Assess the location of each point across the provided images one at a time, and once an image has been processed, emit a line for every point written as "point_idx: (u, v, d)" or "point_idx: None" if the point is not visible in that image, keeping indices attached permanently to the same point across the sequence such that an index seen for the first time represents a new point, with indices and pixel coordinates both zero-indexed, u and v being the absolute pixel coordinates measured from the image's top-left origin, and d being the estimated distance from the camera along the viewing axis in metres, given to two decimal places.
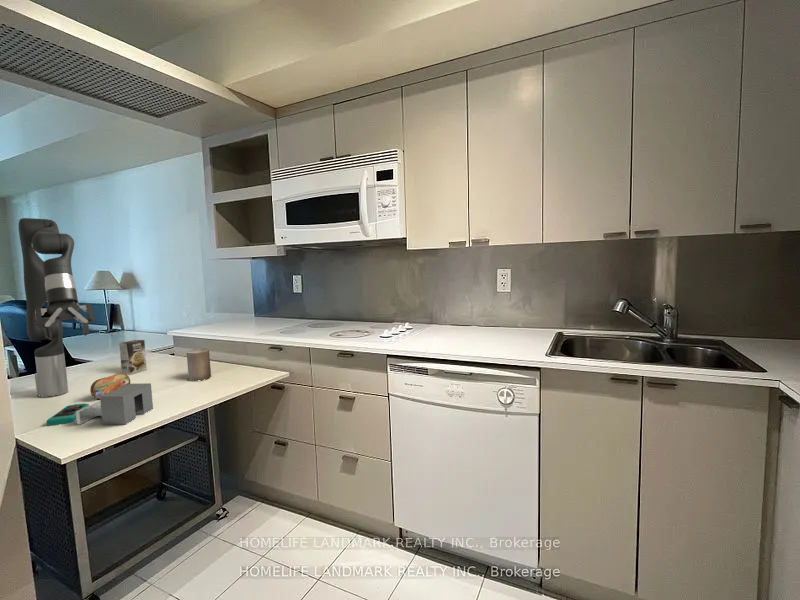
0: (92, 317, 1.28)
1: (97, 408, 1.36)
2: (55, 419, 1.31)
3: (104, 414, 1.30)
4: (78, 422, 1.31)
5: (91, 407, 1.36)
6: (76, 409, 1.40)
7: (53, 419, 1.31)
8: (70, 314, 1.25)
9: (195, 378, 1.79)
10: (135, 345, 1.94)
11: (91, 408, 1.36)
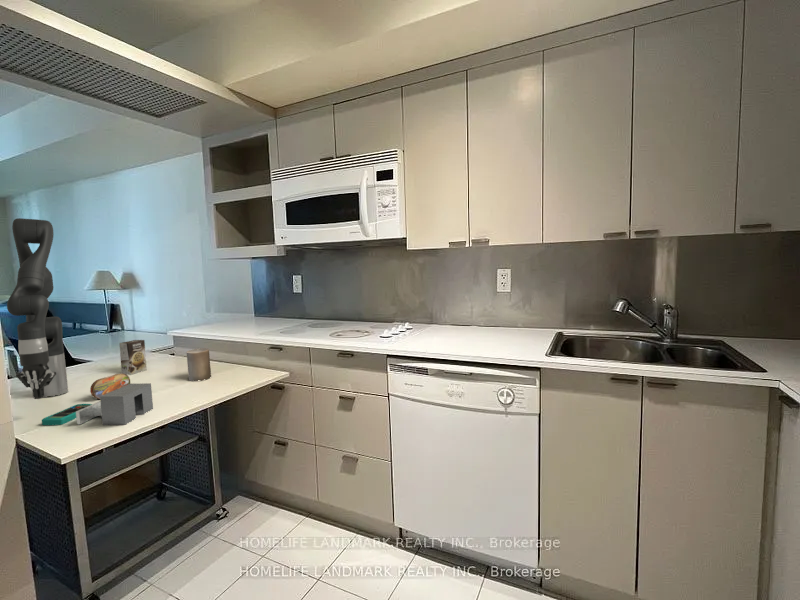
0: (41, 384, 1.36)
1: (97, 408, 1.36)
2: (48, 419, 1.31)
3: (104, 414, 1.30)
4: (78, 422, 1.31)
5: (91, 407, 1.36)
6: (77, 410, 1.40)
7: (46, 419, 1.31)
8: None
9: (195, 378, 1.79)
10: (136, 345, 1.94)
11: (91, 408, 1.36)
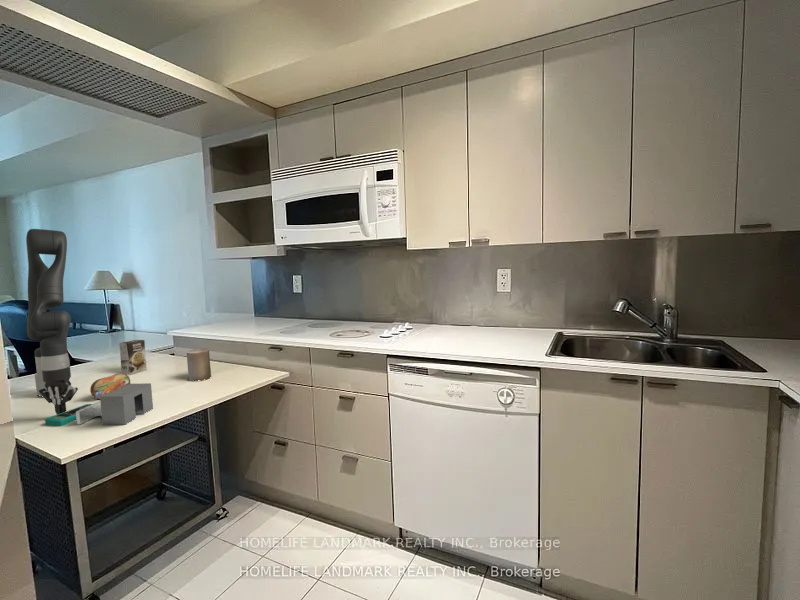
0: (63, 400, 1.36)
1: (97, 408, 1.36)
2: (49, 419, 1.31)
3: (104, 414, 1.30)
4: (78, 422, 1.31)
5: (91, 407, 1.36)
6: None
7: (48, 419, 1.32)
8: None
9: (195, 378, 1.79)
10: (136, 345, 1.94)
11: (91, 408, 1.36)
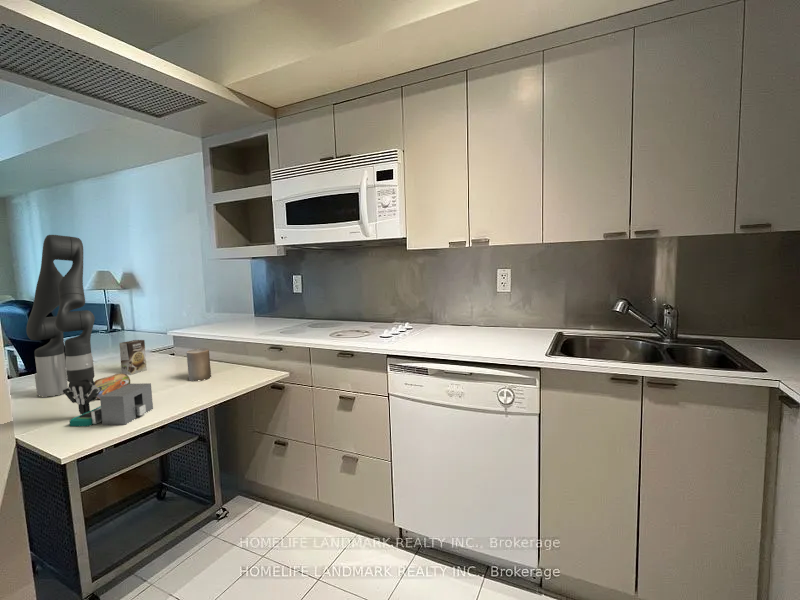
0: (87, 400, 1.36)
1: None
2: (75, 420, 1.30)
3: (104, 414, 1.30)
4: (93, 422, 1.31)
5: None
6: None
7: (74, 420, 1.30)
8: None
9: (195, 378, 1.79)
10: (136, 345, 1.94)
11: None
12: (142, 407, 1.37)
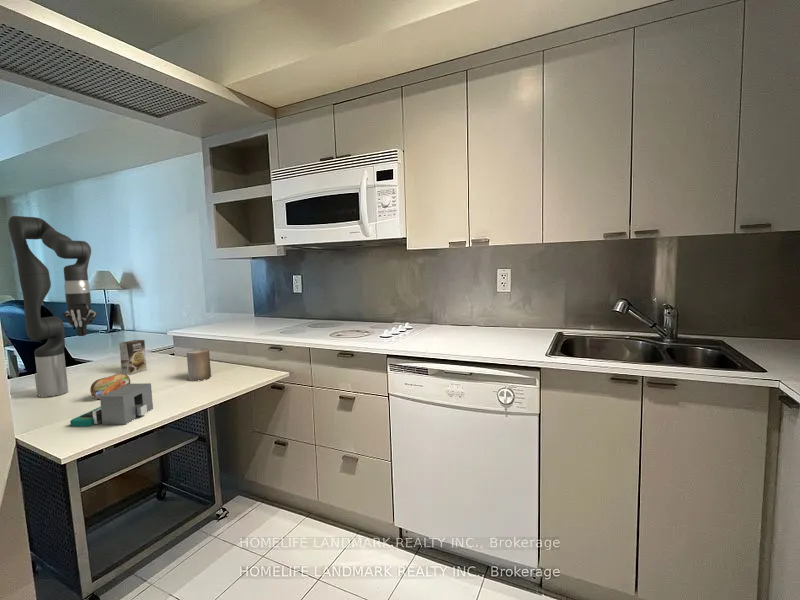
0: (84, 322, 1.49)
1: None
2: (76, 420, 1.30)
3: (104, 414, 1.30)
4: (95, 422, 1.31)
5: None
6: None
7: (75, 420, 1.30)
8: (77, 314, 1.49)
9: (195, 378, 1.79)
10: (136, 345, 1.94)
11: None
12: (143, 407, 1.37)
